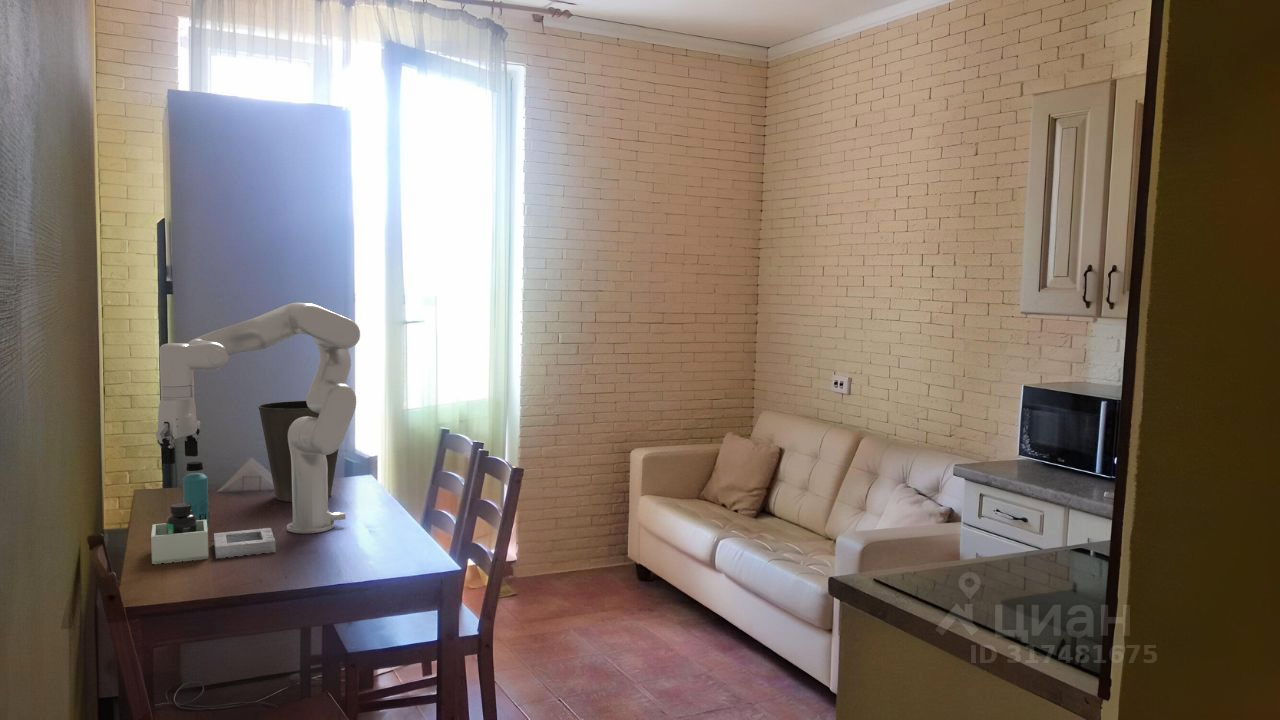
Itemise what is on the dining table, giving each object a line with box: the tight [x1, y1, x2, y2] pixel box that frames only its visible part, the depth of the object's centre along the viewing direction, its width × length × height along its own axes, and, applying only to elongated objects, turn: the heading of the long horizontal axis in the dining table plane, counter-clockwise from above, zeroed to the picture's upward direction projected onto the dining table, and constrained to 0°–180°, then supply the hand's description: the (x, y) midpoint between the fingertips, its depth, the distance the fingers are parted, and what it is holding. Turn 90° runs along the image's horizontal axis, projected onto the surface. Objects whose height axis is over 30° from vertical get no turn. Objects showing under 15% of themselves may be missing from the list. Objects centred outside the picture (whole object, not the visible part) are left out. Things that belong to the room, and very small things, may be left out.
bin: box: [150, 520, 209, 565], centre depth 241 cm, size 13×13×7 cm
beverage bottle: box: [182, 460, 211, 530], centre depth 260 cm, size 6×7×20 cm
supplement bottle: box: [165, 502, 197, 534], centre depth 241 cm, size 7×7×12 cm
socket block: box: [213, 527, 277, 560], centre depth 247 cm, size 14×14×3 cm
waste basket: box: [257, 400, 340, 503], centre depth 305 cm, size 27×20×30 cm
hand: (180, 459), depth 240 cm, fingers open, 9 cm apart
